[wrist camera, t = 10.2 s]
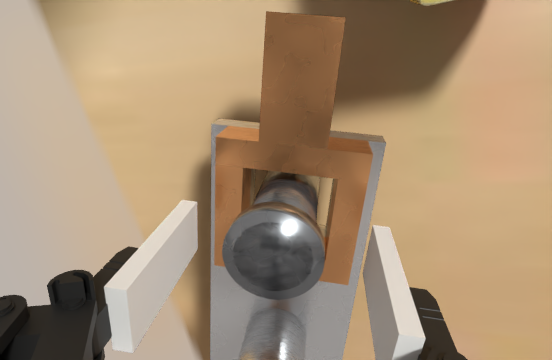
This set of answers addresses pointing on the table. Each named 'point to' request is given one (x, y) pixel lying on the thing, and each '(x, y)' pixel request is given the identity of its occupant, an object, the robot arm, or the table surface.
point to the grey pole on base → (298, 160)
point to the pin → (277, 239)
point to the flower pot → (429, 2)
